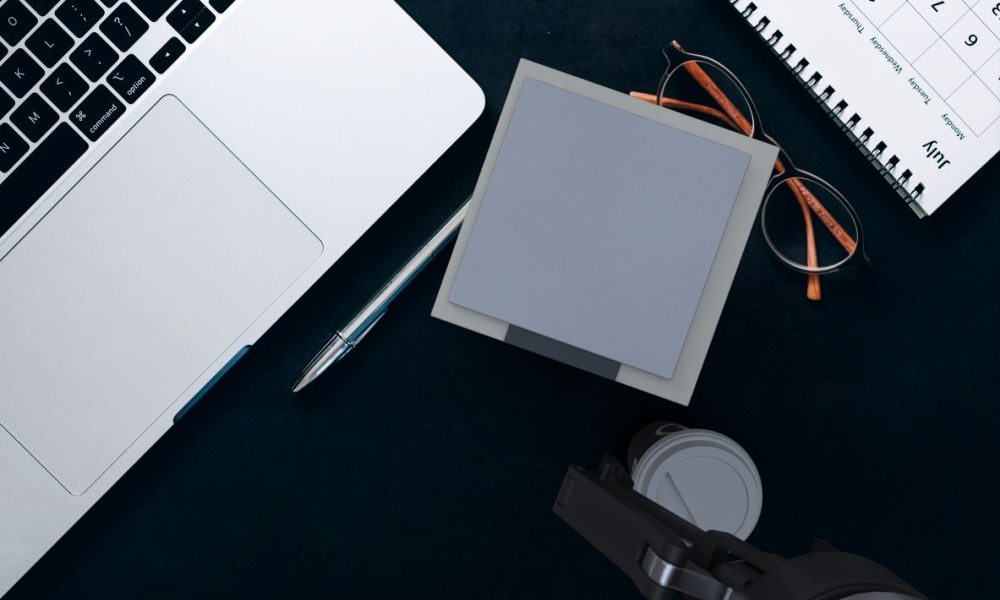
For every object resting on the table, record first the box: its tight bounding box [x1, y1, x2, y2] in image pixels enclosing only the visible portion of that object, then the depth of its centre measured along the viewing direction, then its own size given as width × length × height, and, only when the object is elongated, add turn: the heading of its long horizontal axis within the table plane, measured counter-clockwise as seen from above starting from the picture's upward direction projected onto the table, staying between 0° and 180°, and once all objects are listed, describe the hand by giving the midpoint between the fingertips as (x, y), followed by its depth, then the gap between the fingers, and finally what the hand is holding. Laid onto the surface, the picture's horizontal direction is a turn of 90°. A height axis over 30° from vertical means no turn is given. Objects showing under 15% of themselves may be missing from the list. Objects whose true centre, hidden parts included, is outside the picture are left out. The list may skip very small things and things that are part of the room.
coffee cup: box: [626, 420, 763, 554], centre depth 64 cm, size 10×10×15 cm
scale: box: [430, 57, 781, 407], centre depth 42 cm, size 14×14×3 cm
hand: (707, 518), depth 49 cm, fingers open, 13 cm apart
